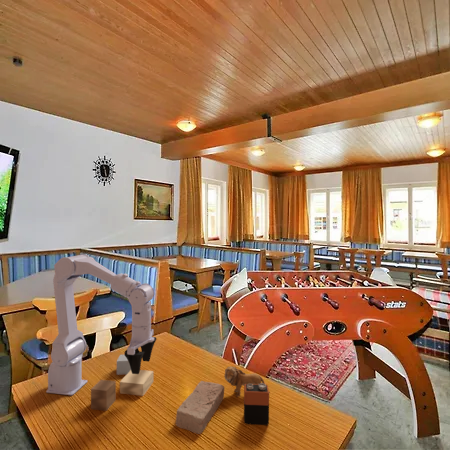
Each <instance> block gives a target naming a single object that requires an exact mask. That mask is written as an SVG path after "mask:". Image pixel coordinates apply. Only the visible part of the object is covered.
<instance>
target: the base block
mask: <svg viewBox="0 0 450 450" xmlns="http://www.w3.org/2000/svg"><path fill="white" fill-rule="evenodd" d="M153 383H154V370H146V369H145V370H144V369H140V372H139V374H132V372H131V370H130V372H129V373H128V374H125V376H124V377H123V378H122V379H120V381H119V394H125V395H130V396H131V395H132V396H141V397H143V396H144V395H145V394H146V393H147V392H148V390H149V389H150V387H151V386H152V385H153Z"/></svg>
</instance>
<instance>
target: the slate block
mask: <svg viewBox="0 0 450 450" xmlns="http://www.w3.org/2000/svg"><path fill="white" fill-rule="evenodd" d="M130 370H131V368H130V364H129V362H128V360H127V358H126V356H125V355H124V354H119V356H118V357H117V360H116V375H117V376H118V375H119V376H120V375H121V376H122V375H127V374H128V373H129V372H130Z"/></svg>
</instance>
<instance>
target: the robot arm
mask: <svg viewBox="0 0 450 450" xmlns="http://www.w3.org/2000/svg"><path fill="white" fill-rule="evenodd" d="M53 266H54V267H53V268H54V276H53V280H52V281H53V283H52V284H53V292H54V301H55V311H56V313H55V314H56V322H57V323H56V324H57V332H58V334H57V336H56V338H54V340H53V341H52V344H51V345H52V349H51V353H50V359H51V361H52V362H51V363H50V365H49V367H48V371H47V390H46V393H47V394H58V395H65V396H67V395H68V396H73V395H74V394H76V392H78V391H79V390H80V389H81V388H83V386H84V385H86V384H87V383H88V379H82V377H83V376H82V373H83V371H82V368H83V367H82V361H83V360H82V358H83V357H84V354H83V353H84V352H85V351H86V350H87V342H86V339H85V337H84V332H83V331H81V330H79V329H78V323H77V313H76V304H75V293H74V283H75V282H76V281H77V279H79V277H81V276H82V275H91V276H93V277H95V278H96V279H99V280H101V281H102V282H105V283H107V284H109V286H110V288H111V291H114V292H115V293H117V294H119V295H121V296H122V297H124V298H127V299H128V302H129V304H130V306H131V338H130V341H129V345H128V347H127V348H126V350H125V351H124V354H123V355H125V356H126V358H127V360H128V362H129V364H130V368H131V372H132V374H139V372H140V370H141V365H142V362H150V360H151V358H152V357H151V356H152V353H153V349H154V346H155V343H156V341H157V337H156V336H154V329H153V328H152V299H154V297H155V290H154V288H153V287H152V285H150V284H149V283H145V282H144V283H141V281H137V280H135V279H133V278H131V277H129V274H127V273H123V272H121V273H118V274H116V273H115V272H113V271H112V270H110V269H109V268H107V267H105V266H103V265H102V264H101V263H99V262H98V261H96V260H95V258H94V257H92V256H89V255H88V254H85V253H81V254H78V255H71V256H68V257H66V256H64V257H61V258H60V259H58V260H57V262H56V263H55V264H54V265H53Z"/></svg>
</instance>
